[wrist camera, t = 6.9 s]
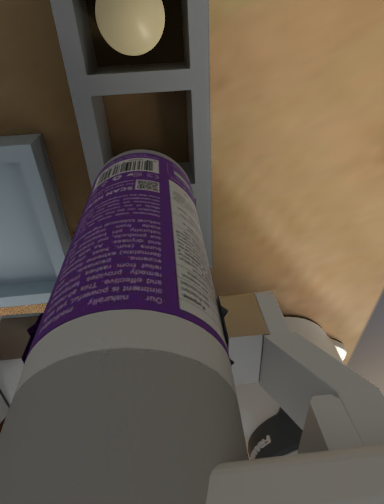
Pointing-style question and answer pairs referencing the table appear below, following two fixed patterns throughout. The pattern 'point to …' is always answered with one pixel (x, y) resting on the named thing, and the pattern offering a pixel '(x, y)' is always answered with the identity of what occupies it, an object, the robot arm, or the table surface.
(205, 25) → the holder
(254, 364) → the robot arm
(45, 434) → the container
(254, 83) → the table surface
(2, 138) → the tray
